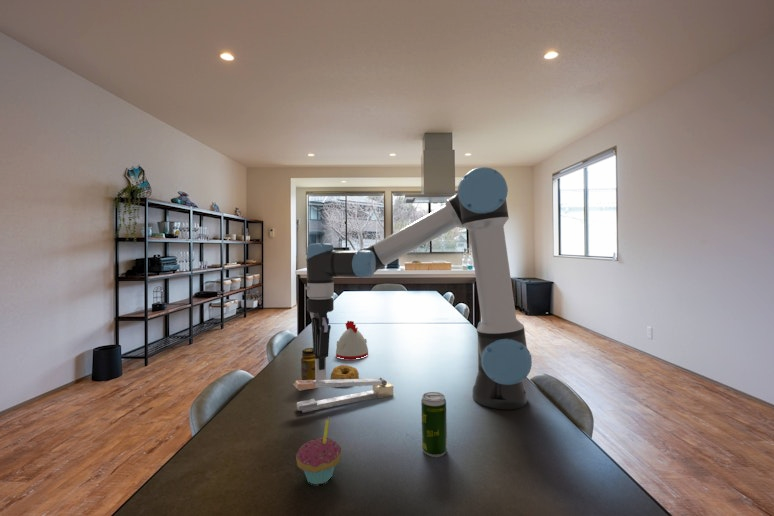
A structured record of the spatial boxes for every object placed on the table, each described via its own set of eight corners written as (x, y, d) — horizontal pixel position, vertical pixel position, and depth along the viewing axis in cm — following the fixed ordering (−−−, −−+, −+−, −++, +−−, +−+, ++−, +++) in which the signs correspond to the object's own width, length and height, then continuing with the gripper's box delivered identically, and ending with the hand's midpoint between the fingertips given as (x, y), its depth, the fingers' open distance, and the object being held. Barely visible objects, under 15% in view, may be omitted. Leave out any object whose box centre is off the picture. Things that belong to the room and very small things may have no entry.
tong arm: (386, 385, 108) (387, 380, 108) (297, 389, 96) (297, 383, 97) (382, 382, 111) (382, 377, 111) (295, 385, 99) (295, 380, 99)
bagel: (325, 386, 117) (324, 372, 117) (337, 375, 128) (336, 362, 128) (353, 388, 115) (353, 373, 115) (363, 377, 126) (363, 363, 126)
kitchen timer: (356, 349, 163) (355, 317, 163) (374, 355, 152) (373, 321, 152) (330, 355, 154) (329, 321, 154) (347, 362, 144) (346, 325, 143)
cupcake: (343, 464, 73) (342, 406, 73) (339, 492, 64) (337, 426, 64) (301, 466, 72) (300, 407, 72) (291, 493, 64) (290, 427, 64)
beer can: (443, 443, 80) (442, 390, 80) (450, 457, 74) (449, 400, 74) (420, 445, 79) (419, 392, 79) (424, 459, 74) (423, 402, 74)
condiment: (324, 385, 118) (323, 349, 118) (299, 391, 113) (298, 354, 113) (315, 379, 124) (315, 345, 124) (292, 385, 119) (291, 349, 119)
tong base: (393, 395, 108) (393, 385, 108) (299, 414, 96) (299, 403, 96) (387, 390, 112) (387, 381, 112) (296, 408, 100) (296, 397, 100)
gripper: (302, 295, 105) (302, 374, 105) (312, 300, 93) (312, 389, 93) (327, 294, 108) (327, 371, 108) (339, 299, 97) (340, 385, 97)
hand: (320, 379), depth 101 cm, fingers closed
